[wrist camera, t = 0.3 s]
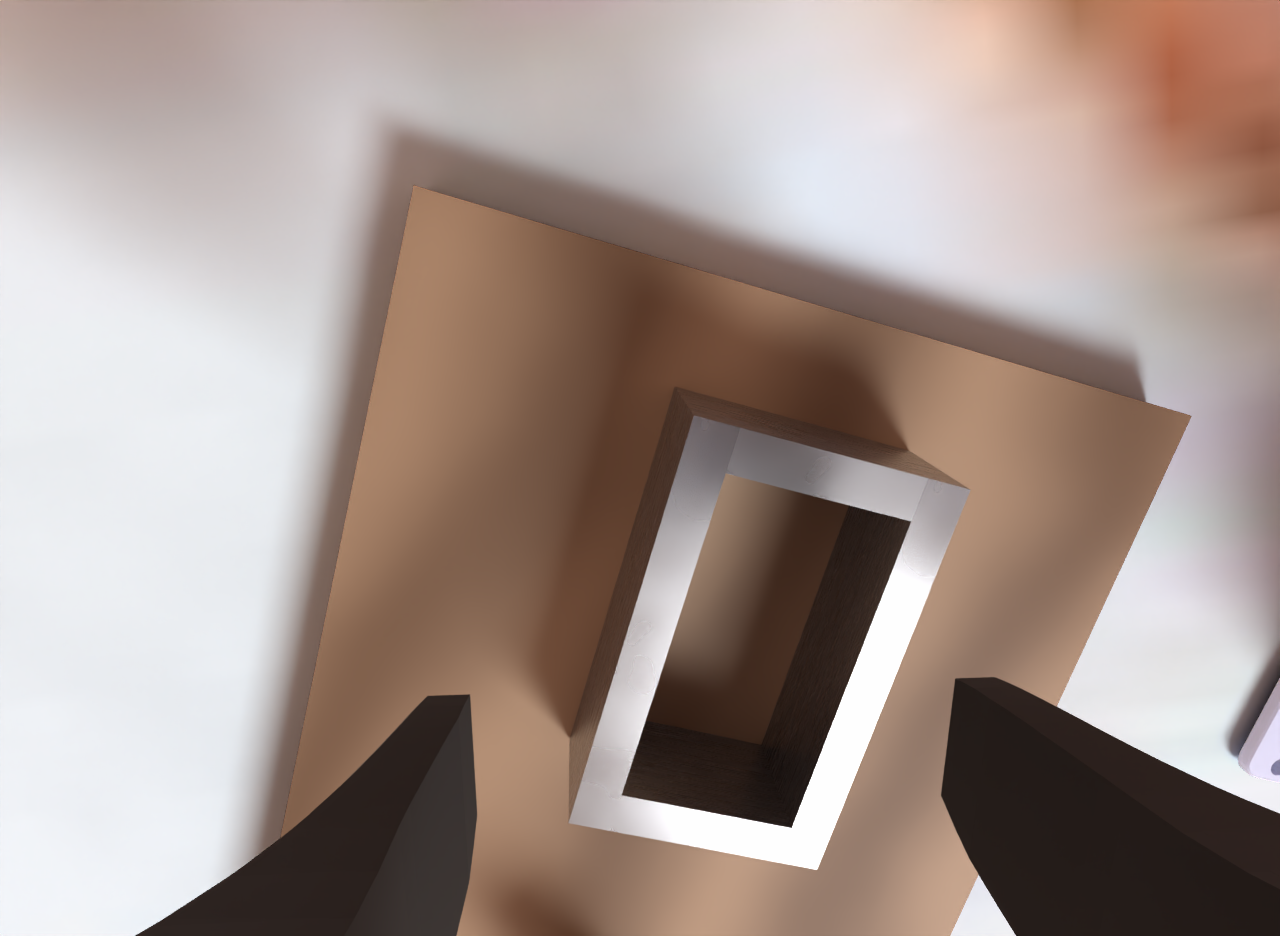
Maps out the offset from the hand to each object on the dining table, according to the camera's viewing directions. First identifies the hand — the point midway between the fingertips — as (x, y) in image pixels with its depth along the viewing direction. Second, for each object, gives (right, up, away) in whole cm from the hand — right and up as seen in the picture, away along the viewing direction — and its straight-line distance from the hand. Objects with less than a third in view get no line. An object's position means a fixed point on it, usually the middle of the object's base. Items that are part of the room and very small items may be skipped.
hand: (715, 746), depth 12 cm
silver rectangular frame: (+1, +1, +7) cm, 7 cm away
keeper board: (0, -3, +10) cm, 10 cm away
